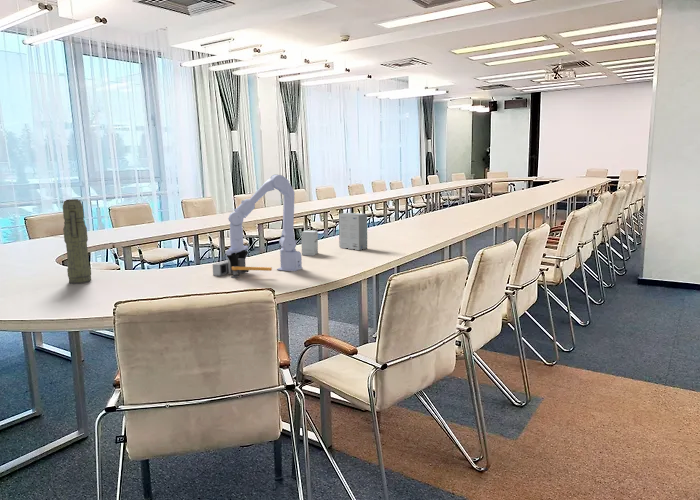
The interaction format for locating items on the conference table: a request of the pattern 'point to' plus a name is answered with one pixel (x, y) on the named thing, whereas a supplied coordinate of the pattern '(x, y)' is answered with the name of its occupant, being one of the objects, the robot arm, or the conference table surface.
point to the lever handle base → (235, 274)
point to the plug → (240, 264)
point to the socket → (220, 268)
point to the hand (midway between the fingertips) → (238, 268)
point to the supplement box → (309, 242)
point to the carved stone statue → (76, 242)
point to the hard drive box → (353, 231)
